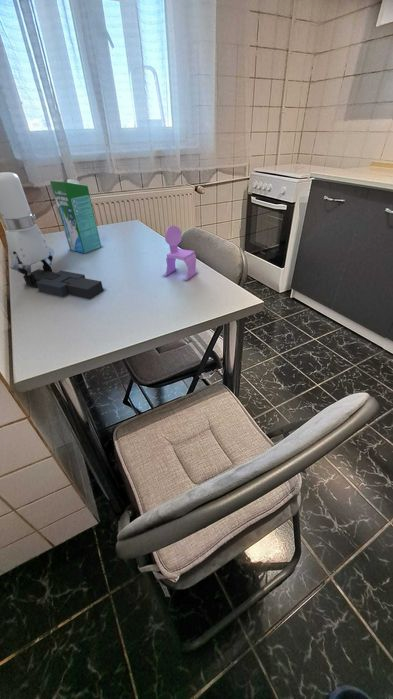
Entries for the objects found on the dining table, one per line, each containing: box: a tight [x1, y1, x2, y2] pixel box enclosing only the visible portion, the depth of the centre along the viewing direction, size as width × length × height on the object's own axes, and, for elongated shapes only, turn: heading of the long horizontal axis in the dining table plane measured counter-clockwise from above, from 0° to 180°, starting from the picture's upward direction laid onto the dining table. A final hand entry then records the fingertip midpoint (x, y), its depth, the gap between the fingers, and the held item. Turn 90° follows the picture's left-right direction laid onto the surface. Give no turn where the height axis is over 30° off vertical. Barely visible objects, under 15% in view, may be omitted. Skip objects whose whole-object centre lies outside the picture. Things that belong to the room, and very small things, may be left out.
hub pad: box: [36, 269, 86, 298], centre depth 91 cm, size 10×10×3 cm
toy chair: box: [164, 225, 197, 281], centre depth 92 cm, size 8×9×15 cm
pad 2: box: [63, 277, 104, 300], centre depth 88 cm, size 11×6×3 cm, turn 65°
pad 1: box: [22, 268, 59, 286], centre depth 94 cm, size 11×6×3 cm, turn 65°
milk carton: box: [49, 179, 102, 254], centre depth 114 cm, size 9×9×25 cm
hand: (42, 281), depth 95 cm, fingers closed on pad 1, 6 cm apart
